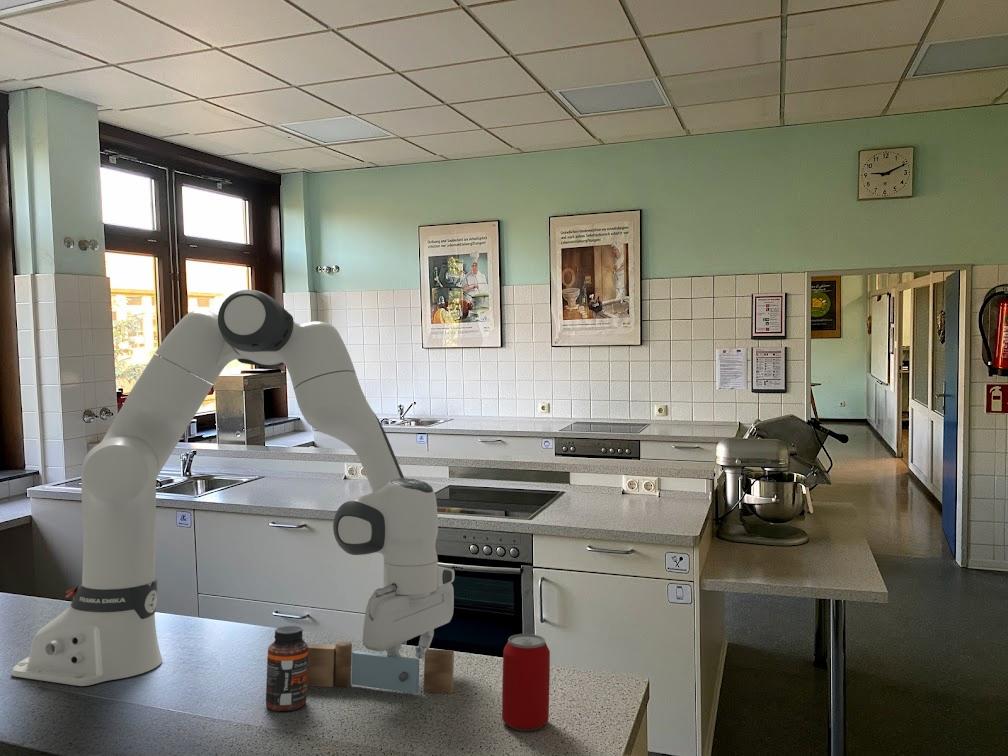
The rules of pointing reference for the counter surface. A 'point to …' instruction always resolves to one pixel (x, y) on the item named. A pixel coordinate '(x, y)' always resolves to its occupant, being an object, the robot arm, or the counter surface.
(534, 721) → the beverage can
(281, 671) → the supplement bottle
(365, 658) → the door
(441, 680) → the door frame
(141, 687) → the counter surface
